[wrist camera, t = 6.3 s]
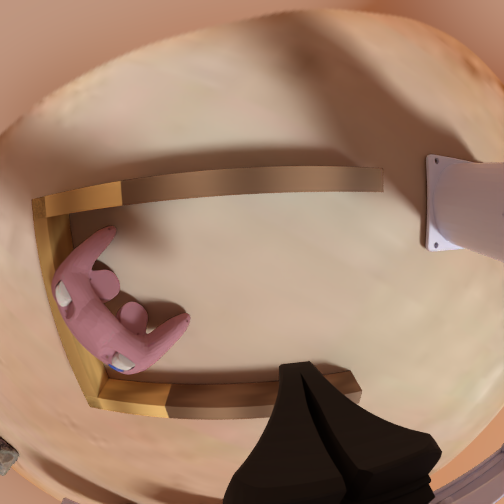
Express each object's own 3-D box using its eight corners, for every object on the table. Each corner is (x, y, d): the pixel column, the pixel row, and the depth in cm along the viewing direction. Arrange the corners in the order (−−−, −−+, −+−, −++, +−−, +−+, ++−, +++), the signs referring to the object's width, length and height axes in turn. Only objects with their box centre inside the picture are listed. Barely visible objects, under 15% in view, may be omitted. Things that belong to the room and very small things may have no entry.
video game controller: (93, 244, 20) (32, 290, 14) (113, 215, 17) (38, 264, 12) (169, 333, 22) (124, 393, 16) (200, 318, 19) (150, 391, 14)
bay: (363, 170, 18) (382, 168, 15) (348, 382, 22) (359, 403, 19) (54, 196, 17) (31, 199, 14) (101, 388, 21) (90, 406, 18)
